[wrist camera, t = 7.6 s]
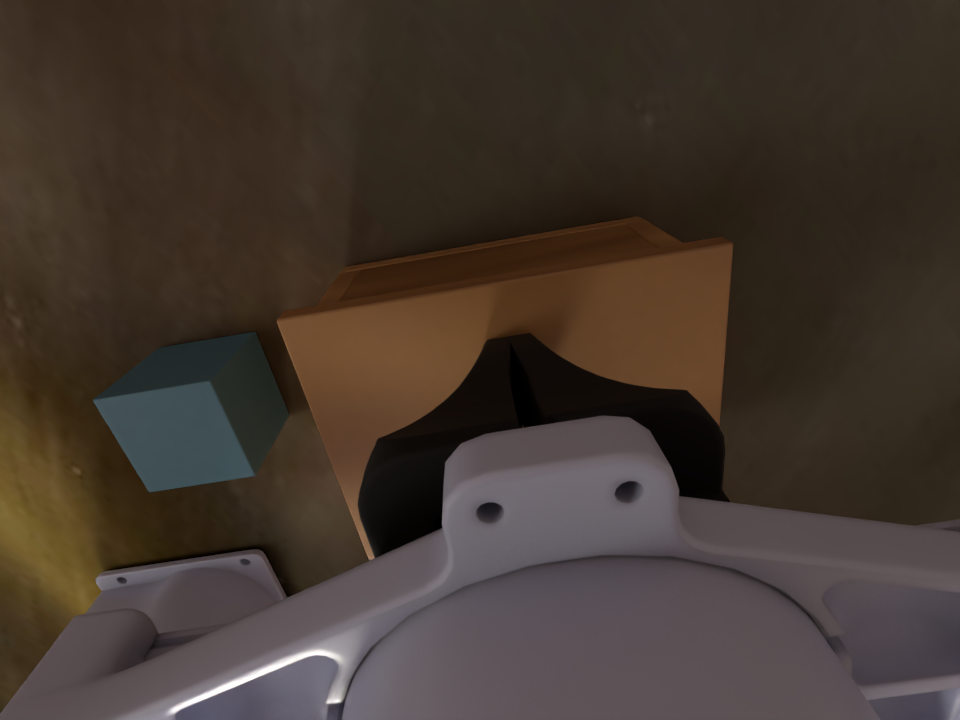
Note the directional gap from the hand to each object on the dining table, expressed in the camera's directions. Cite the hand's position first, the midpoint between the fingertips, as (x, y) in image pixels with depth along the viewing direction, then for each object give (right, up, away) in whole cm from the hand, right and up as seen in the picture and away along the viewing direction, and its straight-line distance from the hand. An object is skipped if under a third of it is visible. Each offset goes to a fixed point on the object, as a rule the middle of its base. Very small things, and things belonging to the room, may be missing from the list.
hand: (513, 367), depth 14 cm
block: (-12, -1, +8) cm, 15 cm away
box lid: (0, -2, +2) cm, 3 cm away
